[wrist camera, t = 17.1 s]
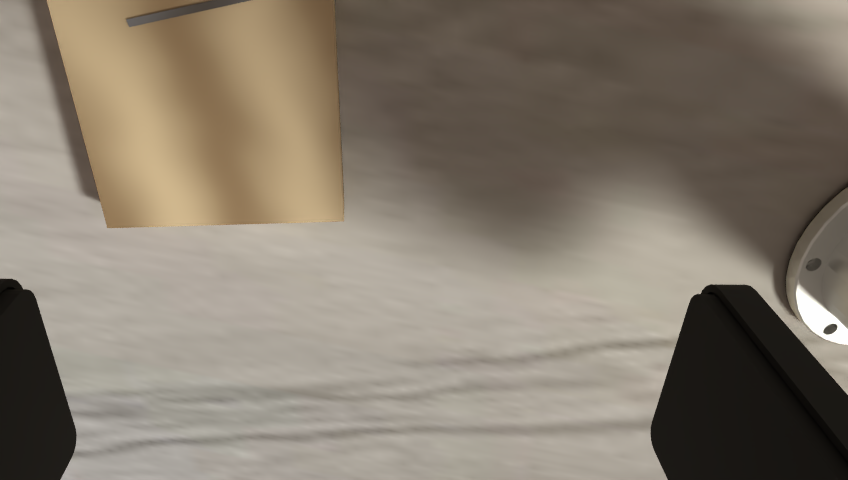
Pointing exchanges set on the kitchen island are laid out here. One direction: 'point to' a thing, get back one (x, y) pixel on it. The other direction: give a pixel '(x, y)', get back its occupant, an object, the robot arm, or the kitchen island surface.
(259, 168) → the board
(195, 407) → the kitchen island surface
